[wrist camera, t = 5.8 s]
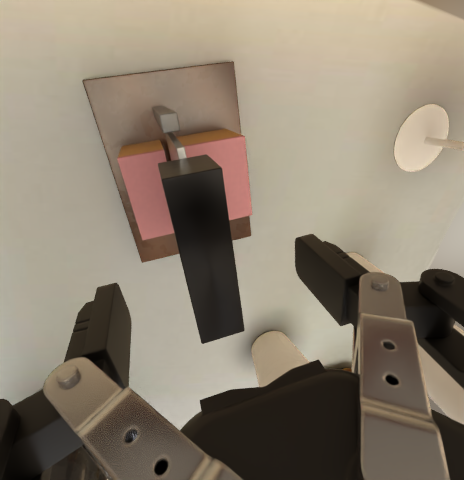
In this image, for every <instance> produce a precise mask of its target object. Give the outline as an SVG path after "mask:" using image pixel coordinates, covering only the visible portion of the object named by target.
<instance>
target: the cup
mask: <svg viewBox="0 0 464 480" xmlns="http://www.w3.org/2000/svg"><path fill="white" fill-rule="evenodd" d="M251 352H252V357H253V362H254V366H255V370H256V375H257V379H258V384H259V387H264V386H266V385H268V384H270V383H271V382H273V381H274V380H276V379H277V378H279V377H280V376H282V375H283V374H284V373H286V372H287V371H289V370H290V369H293V368H296V367H298V366H301V365H304V364H307V363H310V362H309V361H308V360H307V359H306V358H305V357H304V355H302V353H301V352H300V351H299V350H298V349H297V348H296V346H294V344H293V343H292V342H291V341H290V340H289V339H288V337H287V336H286V335H285V334H284V333H282V332H279V331H270V332H266V333H264V334H262V335H261V336H259V337H258V338H257V339H256V340H255V342H254V344H253V346H252V349H251Z"/></svg>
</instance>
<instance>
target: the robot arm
mask: <svg viewBox="0 0 464 480" xmlns="http://www.w3.org/2000/svg"><path fill="white" fill-rule="evenodd" d="M295 267H296V272H297V274H298V276H299V278H300V279H301V280H302V282H303V283H304V284H305V285H306V286H307V287H308V289H309V290H310V291H311V292H312V293H313V294H314V296H315V297H316V298H317V299H318V300H319V302H320V303H321V304H322V305H323V306H324V307H325V309H326V310H327V311H328V312H329V313H330V314H331V316H332V317H333V318H334V319H335V320H336V321H337V323H338V324H339V325H340V326H343V325H346V324H349V323H351V324H352V325H353V326H354V329H353V349H352V372H350V371H346V370H341V369H330V368H327V369H325V368H324V367H323V365H322V364H321V362H320V361H319V360H316V361H313V362H310V363H307V364H304V365H301V366H298V367H296V368H293V369H290V370H289V371H287V372H286V373H284V374H283V375H282V376H280V377H279V378H277V379H276V380H274V381H273V382H271V383H270V384H268V385H266V386H264V387H256V388H245V389H233V390H228V391H226V392H223V393H220V394H217V395H214V396H211V397H208V398H205V399H202V400H200V404H201V410H202V411H201V412H199V413H198V414H196V415H195V416H194V417H193V418H192V419H190V420H189V421H188V422H187V423H186V424H185V425H184V427H183V428H182V429H181V430H180V431H179V430H178V429H177V428H176V427H175V426H174V425H172V424H171V423H170V422H169V421H168V420H167V419H166V418H164V417H163V416H162V415H161V414H160V413H159V412H157V411H156V410H155V409H154V408H153V407H152V406H150V405H149V404H148V403H147V402H146V401H145V400H143V399H142V398H141V397H140V396H139V395H138V394H136V393H135V392H134V391H133V390H132V389H130V388H129V387H128V386H129V365H130V344H131V317H130V313H129V310H128V307H127V305H126V302H125V300H124V297H123V295H122V292H121V290H120V287H119V285H118V284H117V283H113V284H109V285H105V286H101V287H98V288H97V290H96V294H95V299H94V301H91V302H88V303H86V304H85V305H84V306H83V308H82V309H81V310H80V311H79V313H78V316H77V319H76V322H75V323H76V325H75V326H74V329H73V333H72V336H71V340H70V343H69V346H68V350H67V353H66V357H65V360H64V363H62V364H61V365H60V366H58V367H57V368H56V369H55V370H54V371H52V372H51V374H50V375H49V376H48V378H47V379H46V381H45V383H44V386H43V389H42V390H40V391H38V392H37V393H35V394H33V395H31V396H29V397H28V398H26V399H24V400H22V401H20V402H19V403H17V404H15V405H13V406H12V405H11V404H10V402H9V401H7V400H5V399H0V480H107V479H108V480H464V425H463V424H461V423H459V422H457V421H455V420H453V419H451V418H449V417H446V416H444V415H442V414H440V413H438V412H436V411H434V410H432V409H431V408H430V403H429V398H428V393H427V388H426V383H425V378H424V373H423V368H422V362H421V357H420V352H419V347H418V344H419V345H420V346H421V347H422V348H423V349H424V350H425V351H426V352H427V353H428V354H429V355H430V356H431V357H432V358H433V359H434V360H435V361H436V362H437V363H438V364H439V365H440V366H441V367H442V368H443V369H444V370H445V371H446V372H447V373H448V374H449V375H450V376H451V377H452V378H453V379H454V380H455V381H456V382H457V383H458V384H459V385H460V386H461V387H462V388H463V389H464V336H463V335H462V334H461V333H460V332H458V331H457V330H456V329H455V328H453V326H454V323H455V321H457V322H458V323H459V324H461V325H462V326H463V327H464V278H463V277H461V276H459V275H458V274H456V273H453V272H450V271H447V270H442V269H429V270H426V271H424V272H423V273H422V274H421V278H420V281H419V282H399V281H398V280H397V279H396V278H394V277H393V276H391V275H388V274H385V273H380V272H369V271H368V270H367V269H365V268H364V267H363V266H362V265H360V264H359V263H358V262H356V261H355V260H354V259H353V258H351V257H349V255H347V254H346V253H345V252H343V251H342V250H341V249H340V248H339V247H337V246H336V245H334V244H331V243H328V242H326V241H324V242H322V241H321V240H320V239H318V238H317V237H316V236H315V235H313V234H309V235H305V236H301V237H297V238H296V240H295Z"/></svg>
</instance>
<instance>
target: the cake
mask: <svg viewBox="0 0 464 480" xmlns="http://www.w3.org/2000/svg"><path fill="white" fill-rule="evenodd" d="M176 138H177V139H178V140H179V141H180V142H181V144H182V145H183V146H184V147H185V151H186V157H187V158H189V157H194V156H200V155H205V154H207V155H208V156H209V157H210V158H212V159H213V160H214V161H215V162H216V163H217V164H218V165H219V166H220V167H221V168H222V171H223V178H224V186H225V193H226V200H227V207H228V214H229V220H233V219H237V218H241V217H246V216H250V215H252V208H251V197H250V187H249V176H248V166H247V155H246V145H245V136H243V135H240V134H238V133H235V132H233V131H230V130H228V129H220V130H214V131H208V132H202V133H196V134H191V135H185V136H179V137H176ZM117 160H118V164H119V167H120V170H121V173H122V176H123V180H124V183H125V186H126V189H127V192H128V196H129V199H130V202H131V205H132V208H133V212H134V215H135V218H136V221H137V224H138V228H139V231H140V234H141V237H142V240H146V239H151V238H155V237H159V236H164V235H168V234H172V233H174V229H173V225H172V221H171V217H170V213H169V209H168V205H167V201H166V197H165V193H164V189H163V185H162V181H161V177H160V172H159V168H158V163H162V162H167V161H166V156H165V152H164V149H163V147H162V144H161V142H160V140H155V141H149V142H143V143H137V144H131V145H125V146H122V147H121V150H120V153H119V155H118V158H117Z"/></svg>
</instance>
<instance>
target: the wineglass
mask: <svg viewBox="0 0 464 480" xmlns="http://www.w3.org/2000/svg"><path fill="white" fill-rule="evenodd" d="M448 131H449V120H448V116H447V113H446V112H445V110H444V109H443V108H442V107H440V106H438V105H436V104H431V105H425V106H423V107H421V108H418V109H417V110H416V111H414V112H413V113H412V114H411V115H410V116H409V117H408V118H407V119H406V121H405V122H404V123H403V125H402V126H401V128H400V130H399V132H398V135H397V137H396V141H395V146H394V157H395V160H396V162H397V165H398V166H399V167H400V168H401V169H402V170H405V171H408V172H413V171H418V170H420V169H423V168H425V167H426V166H427V165H429V164H430V163H431V162H432V161H433V160H434V159H435V158H436V157H437V156H438V154H439V153H440V152H441V150H442V148H443V147H446V148H452V149H458V150H464V142H459V141H452V140H446V139H447V135H448Z"/></svg>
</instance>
